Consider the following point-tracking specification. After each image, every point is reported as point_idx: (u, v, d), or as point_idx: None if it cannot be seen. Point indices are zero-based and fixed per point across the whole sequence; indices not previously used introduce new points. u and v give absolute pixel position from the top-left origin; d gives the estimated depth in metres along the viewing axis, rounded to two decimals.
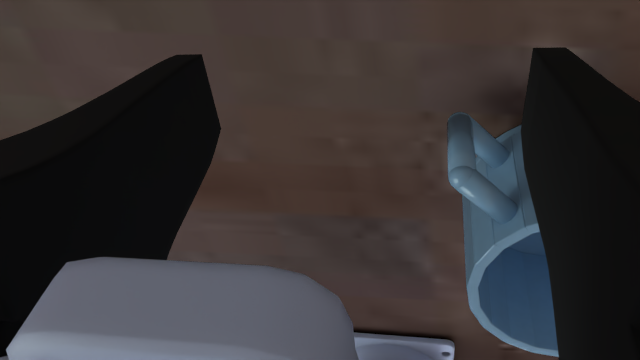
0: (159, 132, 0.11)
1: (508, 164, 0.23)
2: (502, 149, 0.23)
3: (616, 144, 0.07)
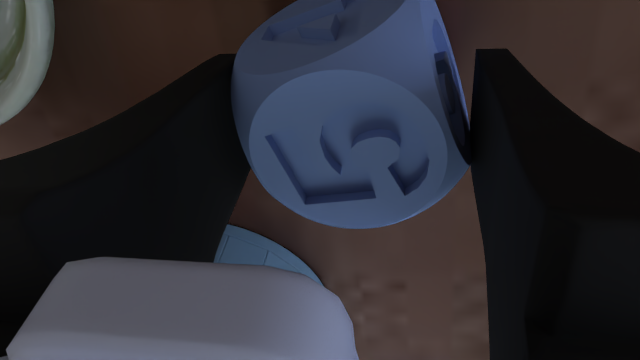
0: (208, 132, 0.11)
1: None
2: None
3: (526, 143, 0.07)
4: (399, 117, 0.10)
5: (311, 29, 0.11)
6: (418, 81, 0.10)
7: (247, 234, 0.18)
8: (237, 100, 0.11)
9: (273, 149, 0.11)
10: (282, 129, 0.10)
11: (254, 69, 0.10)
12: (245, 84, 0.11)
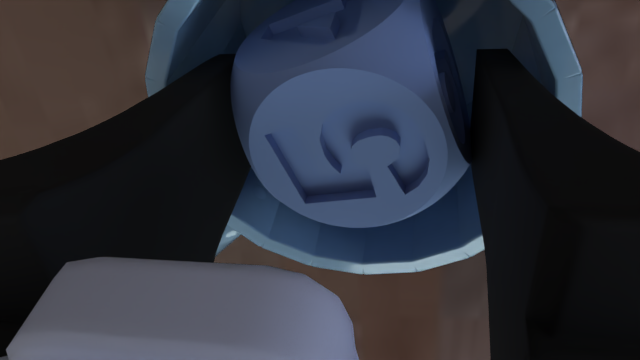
0: (208, 132, 0.11)
1: None
2: None
3: (527, 143, 0.07)
4: (400, 115, 0.10)
5: (311, 28, 0.11)
6: (419, 79, 0.10)
7: None
8: (237, 99, 0.11)
9: (272, 148, 0.11)
10: (282, 128, 0.10)
11: (254, 69, 0.10)
12: (245, 83, 0.11)
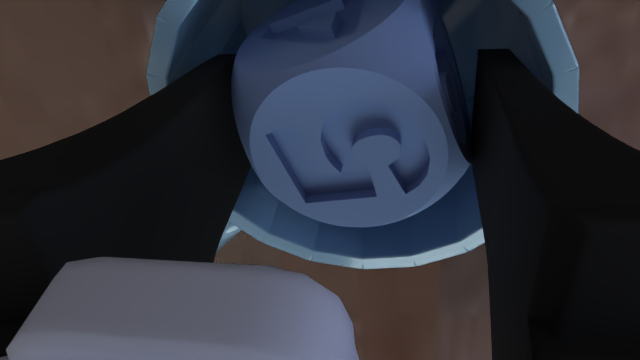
0: (208, 132, 0.11)
1: None
2: None
3: (529, 143, 0.07)
4: (400, 114, 0.10)
5: (311, 27, 0.11)
6: (419, 79, 0.10)
7: None
8: (237, 98, 0.11)
9: (274, 147, 0.11)
10: (283, 127, 0.10)
11: (255, 68, 0.10)
12: (245, 82, 0.11)
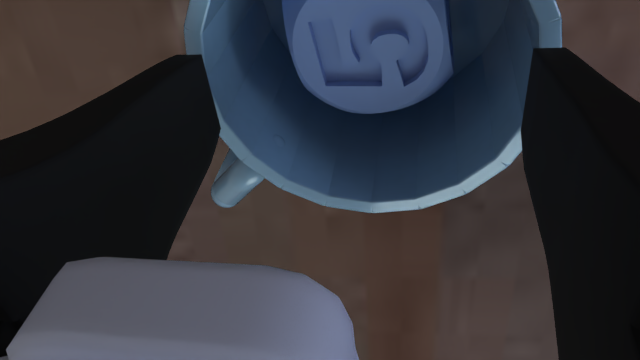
0: (159, 132, 0.11)
1: None
2: None
3: (616, 144, 0.07)
4: (412, 21, 0.14)
5: None
6: None
7: None
8: None
9: (311, 34, 0.14)
10: (323, 18, 0.14)
11: None
12: None
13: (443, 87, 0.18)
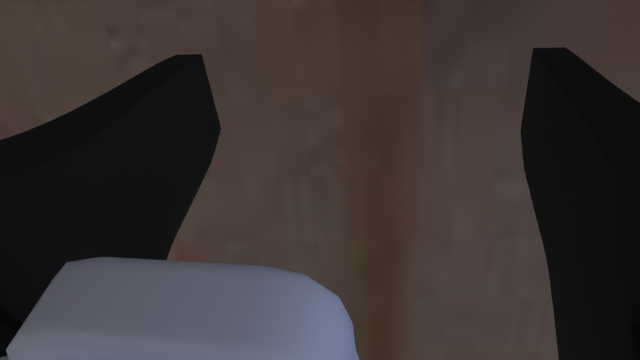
0: (159, 132, 0.11)
1: None
2: None
3: (616, 144, 0.07)
4: None
5: None
6: None
7: None
8: None
9: None
10: None
11: None
12: None
13: None
